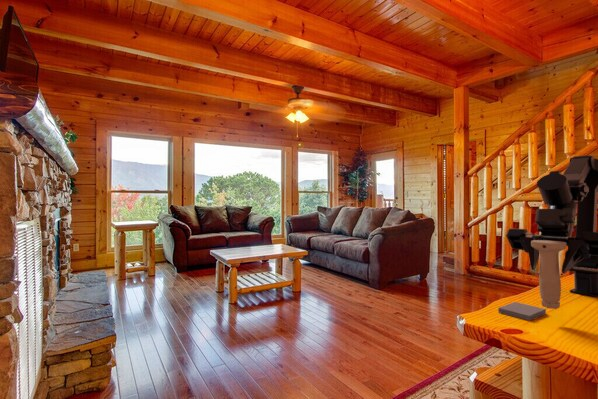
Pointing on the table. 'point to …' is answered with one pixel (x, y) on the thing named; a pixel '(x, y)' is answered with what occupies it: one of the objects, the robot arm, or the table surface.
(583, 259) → the robot arm
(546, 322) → the table surface
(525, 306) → the plate
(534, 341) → the table surface
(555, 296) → the handle
